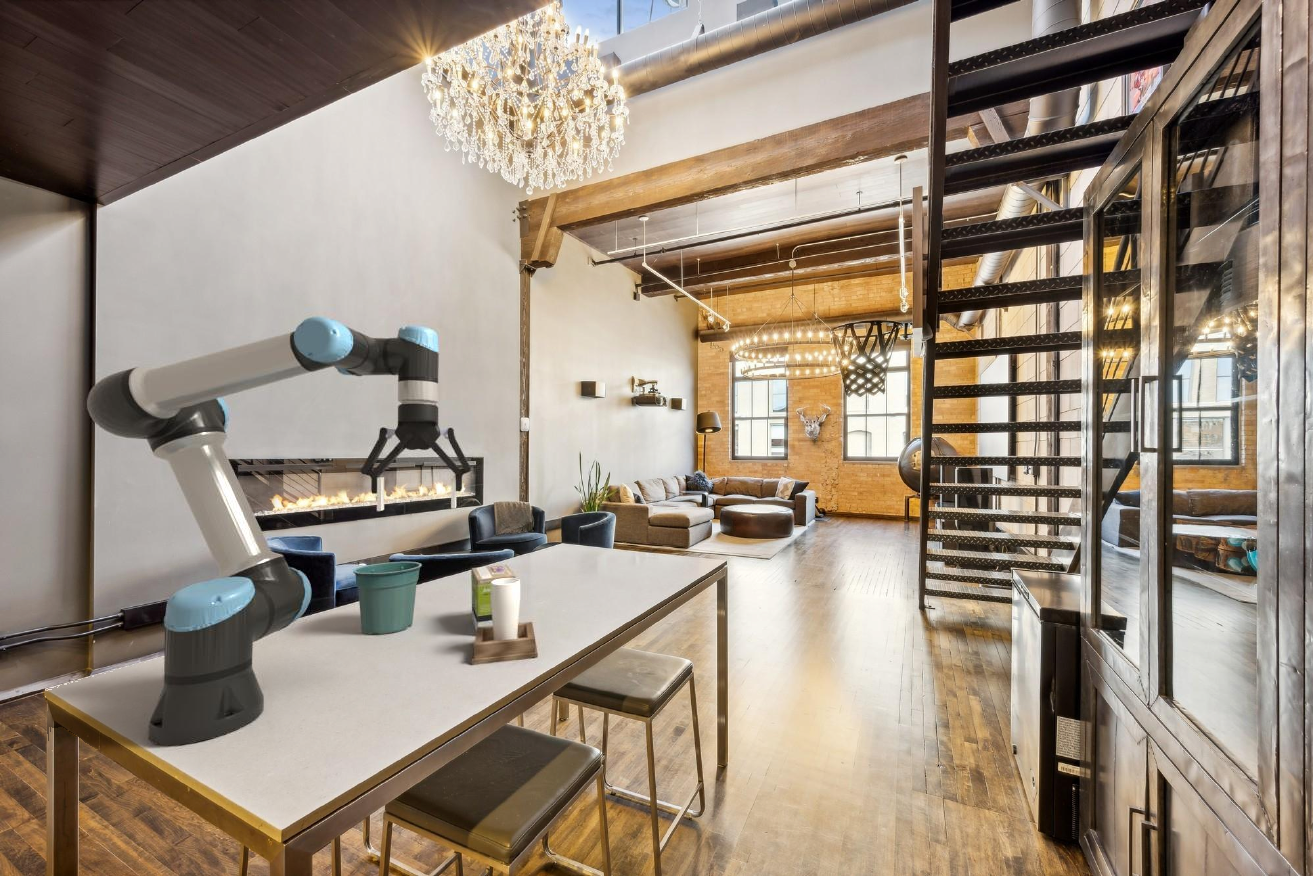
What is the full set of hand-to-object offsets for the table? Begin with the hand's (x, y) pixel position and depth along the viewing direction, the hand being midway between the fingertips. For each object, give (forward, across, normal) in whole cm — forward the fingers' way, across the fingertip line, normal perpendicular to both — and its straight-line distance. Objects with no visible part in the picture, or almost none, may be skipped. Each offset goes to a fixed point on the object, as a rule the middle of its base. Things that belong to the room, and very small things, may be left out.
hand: (417, 509), depth 107 cm
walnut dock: (+35, -17, -14) cm, 41 cm away
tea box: (+35, -14, -34) cm, 51 cm away
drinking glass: (+34, -17, -14) cm, 40 cm away
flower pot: (+35, +13, -41) cm, 55 cm away
